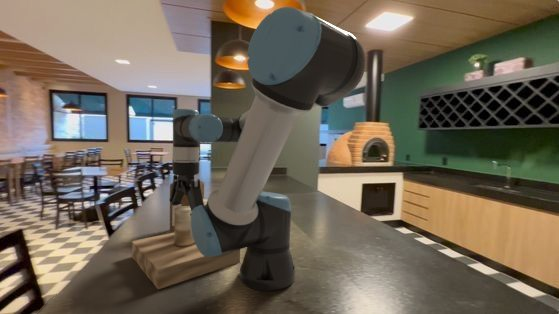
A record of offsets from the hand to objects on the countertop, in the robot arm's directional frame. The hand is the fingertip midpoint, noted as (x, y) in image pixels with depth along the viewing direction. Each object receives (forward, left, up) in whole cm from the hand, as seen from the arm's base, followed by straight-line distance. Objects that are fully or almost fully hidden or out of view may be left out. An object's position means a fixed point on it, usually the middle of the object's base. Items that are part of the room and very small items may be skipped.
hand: (185, 230), depth 83 cm
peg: (0, 0, -9) cm, 9 cm away
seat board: (0, 0, -9) cm, 9 cm away
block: (+24, -11, -9) cm, 28 cm away
